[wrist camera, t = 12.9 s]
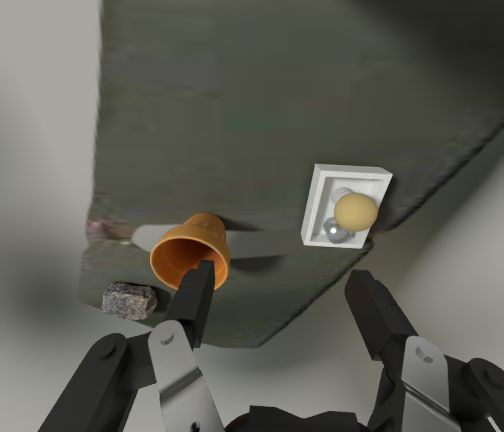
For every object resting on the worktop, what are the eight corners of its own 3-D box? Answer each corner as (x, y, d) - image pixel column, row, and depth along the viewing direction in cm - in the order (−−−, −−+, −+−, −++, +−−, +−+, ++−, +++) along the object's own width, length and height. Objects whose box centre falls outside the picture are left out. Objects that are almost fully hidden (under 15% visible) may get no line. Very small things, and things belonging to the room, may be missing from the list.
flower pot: (168, 235, 48) (140, 276, 37) (189, 189, 42) (163, 222, 31) (220, 259, 52) (208, 302, 41) (247, 220, 45) (242, 259, 34)
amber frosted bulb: (364, 184, 37) (395, 209, 29) (346, 212, 40) (369, 243, 32) (333, 174, 36) (355, 198, 28) (317, 204, 40) (333, 233, 31)
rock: (111, 298, 63) (159, 308, 65) (97, 318, 57) (150, 328, 60) (108, 273, 56) (162, 285, 58) (93, 292, 51) (152, 305, 53)
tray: (313, 161, 38) (321, 170, 33) (376, 165, 38) (392, 174, 33) (299, 230, 46) (304, 245, 41) (351, 233, 46) (361, 248, 41)
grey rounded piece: (325, 216, 41) (331, 226, 38) (344, 217, 41) (352, 228, 38) (321, 232, 43) (326, 243, 40) (339, 233, 43) (346, 244, 40)
